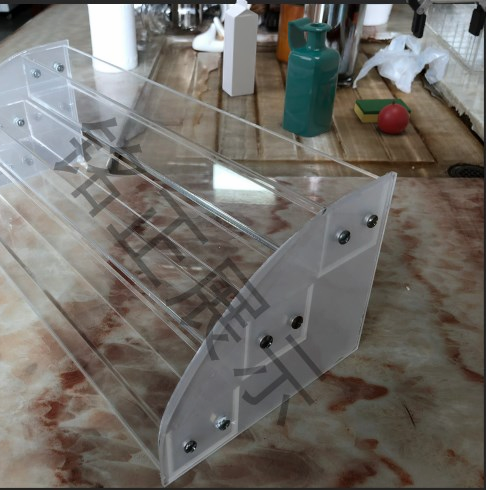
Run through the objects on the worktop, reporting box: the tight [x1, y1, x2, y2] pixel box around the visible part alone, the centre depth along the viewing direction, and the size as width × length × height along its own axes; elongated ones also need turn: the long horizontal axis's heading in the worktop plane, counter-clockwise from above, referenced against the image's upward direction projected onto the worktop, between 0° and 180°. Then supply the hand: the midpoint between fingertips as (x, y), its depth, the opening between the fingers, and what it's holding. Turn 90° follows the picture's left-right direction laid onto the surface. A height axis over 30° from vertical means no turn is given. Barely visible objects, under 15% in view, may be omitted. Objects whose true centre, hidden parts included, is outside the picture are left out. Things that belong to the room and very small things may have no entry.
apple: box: [377, 101, 410, 135], centre depth 124 cm, size 6×6×7 cm
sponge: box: [354, 98, 412, 124], centre depth 131 cm, size 10×7×3 cm
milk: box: [221, 0, 259, 97], centre depth 142 cm, size 6×6×22 cm
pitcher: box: [281, 16, 341, 138], centre depth 122 cm, size 10×8×22 cm
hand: (445, 35), depth 104 cm, fingers open, 9 cm apart
